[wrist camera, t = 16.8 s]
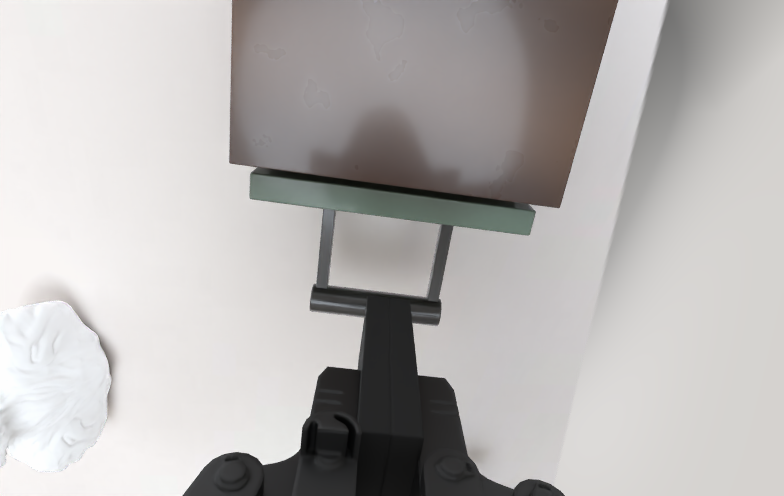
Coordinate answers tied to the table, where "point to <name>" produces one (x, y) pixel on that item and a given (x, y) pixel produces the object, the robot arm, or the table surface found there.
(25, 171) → the table surface
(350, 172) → the cabinet
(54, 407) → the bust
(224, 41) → the table surface
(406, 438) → the robot arm
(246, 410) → the table surface
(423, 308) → the drawer
